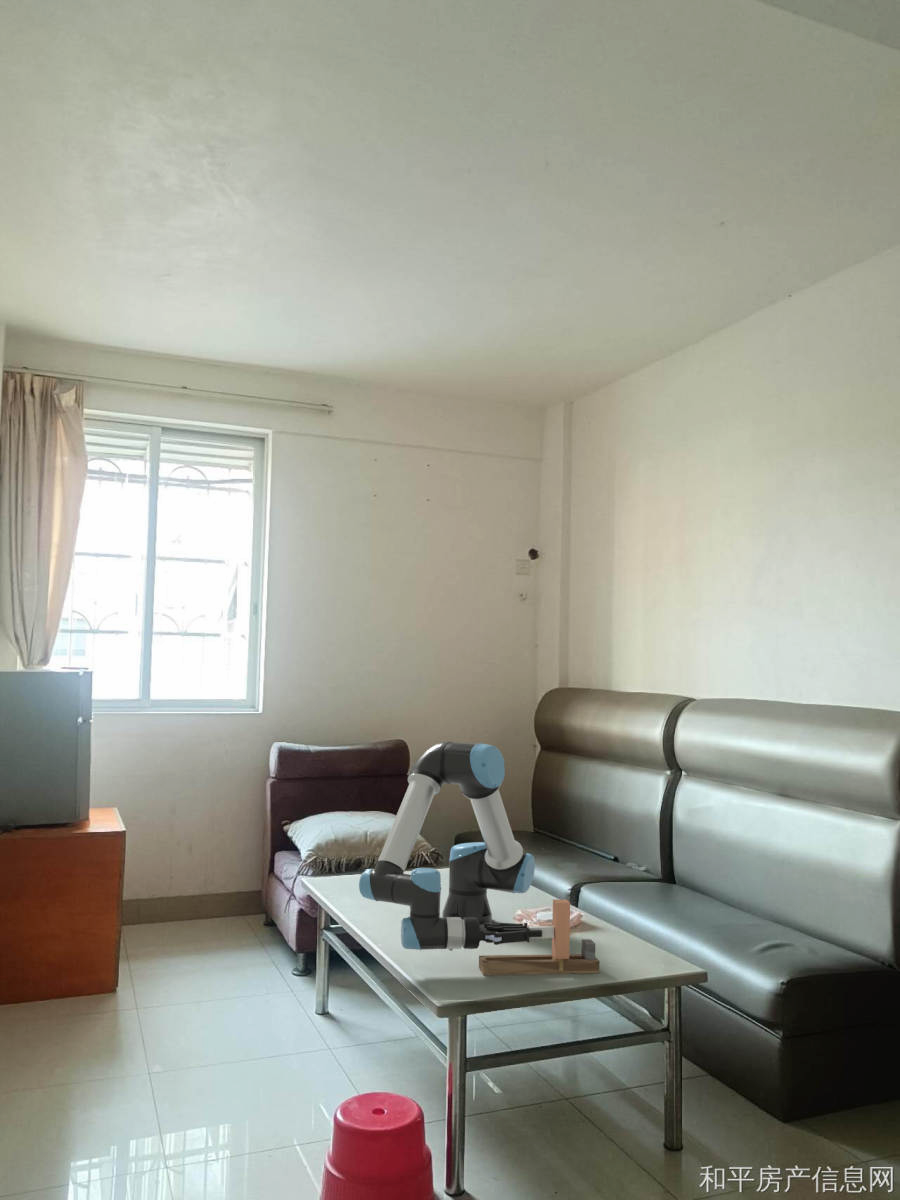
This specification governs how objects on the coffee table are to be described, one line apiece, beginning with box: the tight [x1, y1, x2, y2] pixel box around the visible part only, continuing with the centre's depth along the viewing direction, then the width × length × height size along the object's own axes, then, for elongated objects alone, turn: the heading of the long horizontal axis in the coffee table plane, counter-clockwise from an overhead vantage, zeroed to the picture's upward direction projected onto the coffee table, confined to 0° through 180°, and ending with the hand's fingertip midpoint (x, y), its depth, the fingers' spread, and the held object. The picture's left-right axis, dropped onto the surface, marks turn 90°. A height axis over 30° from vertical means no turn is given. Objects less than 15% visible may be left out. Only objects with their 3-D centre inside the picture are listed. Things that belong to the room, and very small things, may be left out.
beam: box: [478, 938, 600, 976], centre depth 236 cm, size 6×30×7 cm, turn 99°
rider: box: [551, 898, 571, 960], centre depth 237 cm, size 4×4×16 cm
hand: (553, 932), depth 237 cm, fingers closed
